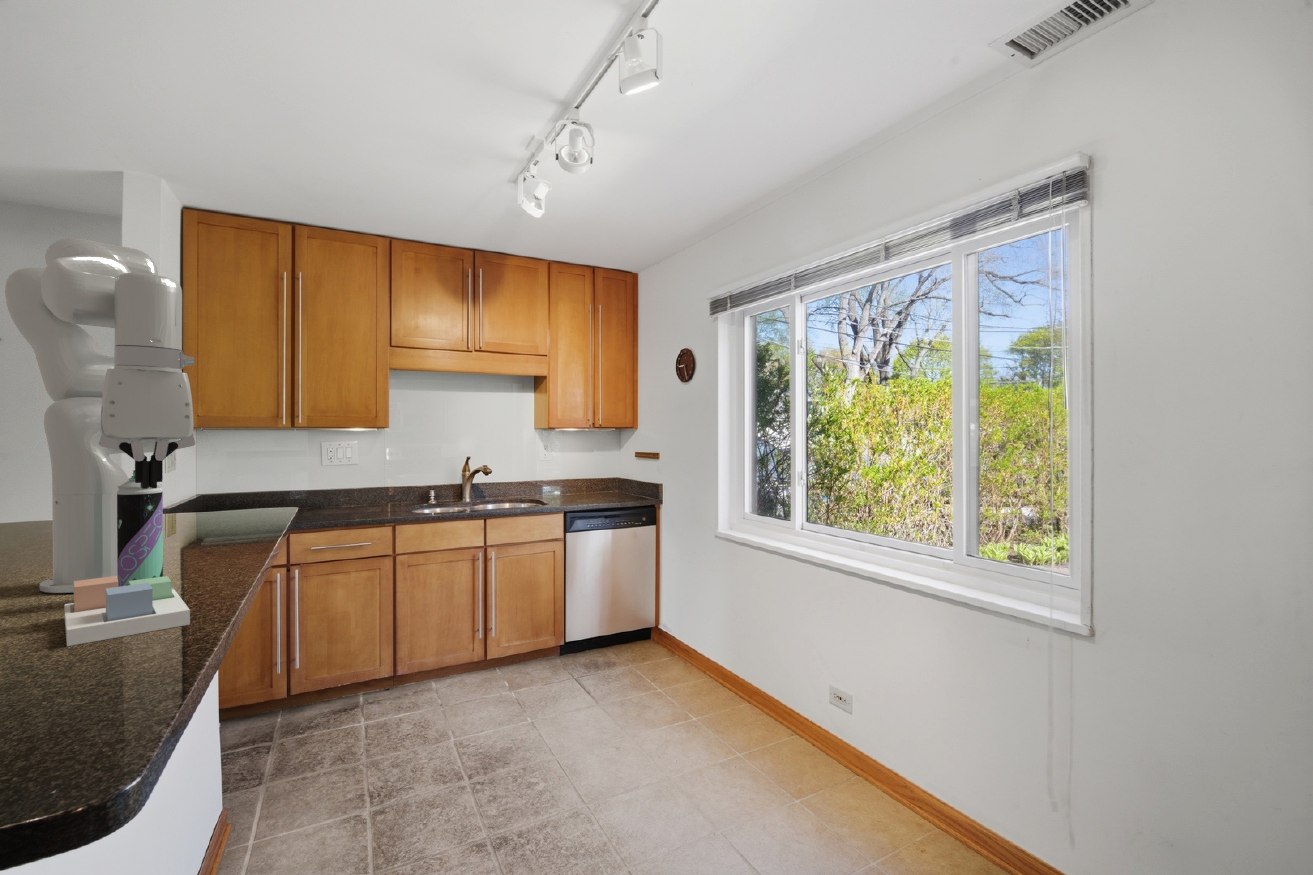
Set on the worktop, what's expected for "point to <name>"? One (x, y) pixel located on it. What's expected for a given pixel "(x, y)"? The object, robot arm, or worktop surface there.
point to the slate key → (128, 601)
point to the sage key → (157, 587)
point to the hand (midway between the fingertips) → (148, 487)
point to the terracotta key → (92, 593)
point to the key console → (123, 621)
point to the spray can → (139, 532)
